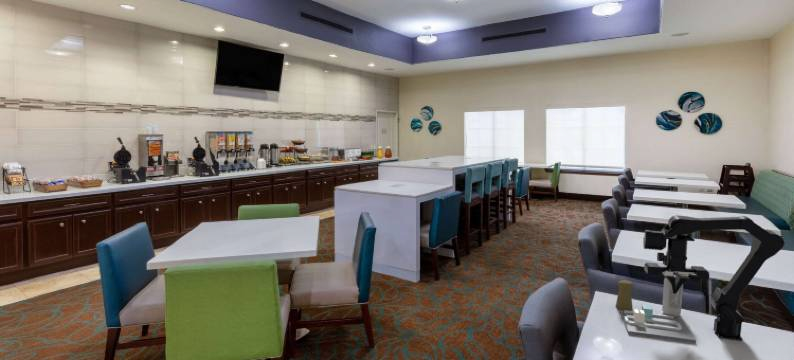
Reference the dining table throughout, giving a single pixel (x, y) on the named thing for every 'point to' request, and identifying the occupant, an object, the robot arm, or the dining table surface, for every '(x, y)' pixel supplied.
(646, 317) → the console board
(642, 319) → the fader cap
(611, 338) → the dining table surface
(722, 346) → the dining table surface
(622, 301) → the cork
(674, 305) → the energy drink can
